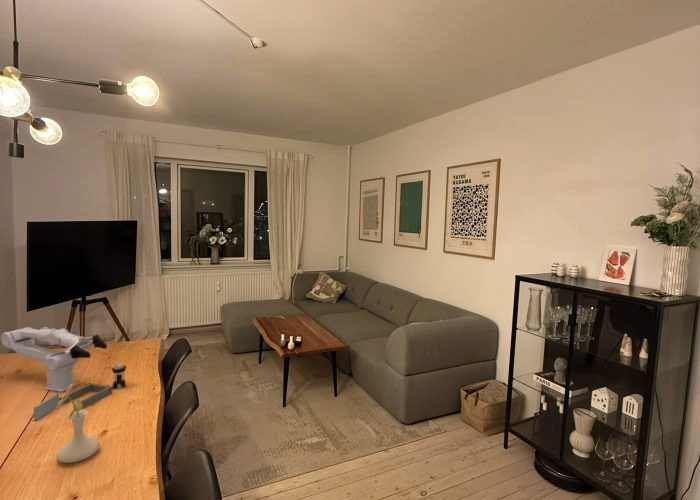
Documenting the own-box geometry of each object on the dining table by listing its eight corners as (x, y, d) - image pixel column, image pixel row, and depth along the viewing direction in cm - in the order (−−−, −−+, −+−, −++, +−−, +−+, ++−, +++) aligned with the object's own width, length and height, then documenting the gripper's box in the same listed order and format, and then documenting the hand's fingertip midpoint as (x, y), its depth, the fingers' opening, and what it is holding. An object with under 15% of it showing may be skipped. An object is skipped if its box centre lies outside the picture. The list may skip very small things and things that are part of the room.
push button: (108, 391, 161) (108, 369, 160) (108, 386, 166) (108, 365, 165) (126, 388, 165) (125, 366, 164) (126, 383, 169) (125, 362, 168)
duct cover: (57, 404, 148) (56, 392, 148) (60, 404, 148) (59, 392, 148) (33, 420, 136) (33, 407, 136) (36, 420, 136) (36, 407, 136)
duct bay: (59, 405, 148) (59, 397, 148) (91, 390, 162) (91, 383, 162) (81, 409, 146) (81, 401, 145) (111, 393, 159) (111, 386, 159)
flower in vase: (71, 444, 123) (70, 372, 121) (107, 444, 124) (106, 372, 122) (42, 470, 110) (40, 390, 108) (82, 470, 111) (81, 390, 109)
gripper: (55, 342, 152) (80, 351, 149) (88, 326, 165) (112, 334, 162) (57, 356, 154) (82, 366, 151) (90, 340, 168) (113, 348, 164)
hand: (97, 350), depth 157 cm, fingers open, 7 cm apart
